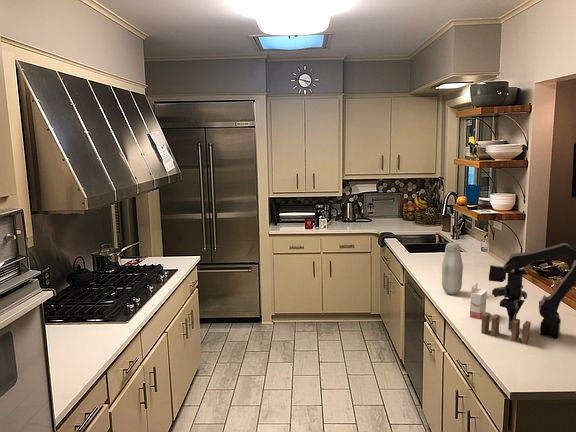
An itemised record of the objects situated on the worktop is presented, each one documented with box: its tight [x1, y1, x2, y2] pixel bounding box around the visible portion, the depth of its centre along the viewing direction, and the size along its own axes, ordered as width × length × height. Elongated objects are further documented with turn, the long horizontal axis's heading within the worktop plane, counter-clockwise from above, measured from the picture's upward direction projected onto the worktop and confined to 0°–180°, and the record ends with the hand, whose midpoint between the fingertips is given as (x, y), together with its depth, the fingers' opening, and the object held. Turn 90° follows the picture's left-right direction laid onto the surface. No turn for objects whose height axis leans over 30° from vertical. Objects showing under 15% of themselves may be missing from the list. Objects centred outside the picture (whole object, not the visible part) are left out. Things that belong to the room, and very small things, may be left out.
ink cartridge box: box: [469, 282, 488, 320], centre depth 215 cm, size 9×5×15 cm, turn 141°
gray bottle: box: [441, 241, 464, 295], centre depth 246 cm, size 10×10×28 cm
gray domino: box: [507, 311, 518, 331], centre depth 200 cm, size 2×5×8 cm, turn 139°
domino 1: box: [480, 311, 491, 335], centre depth 197 cm, size 2×5×8 cm, turn 139°
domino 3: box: [510, 318, 521, 343], centre depth 190 cm, size 2×5×8 cm, turn 139°
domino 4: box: [521, 320, 532, 345], centre depth 187 cm, size 2×5×8 cm, turn 139°
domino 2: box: [490, 313, 501, 338], centre depth 195 cm, size 2×5×8 cm, turn 139°
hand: (512, 318), depth 199 cm, fingers closed on gray domino, 5 cm apart
